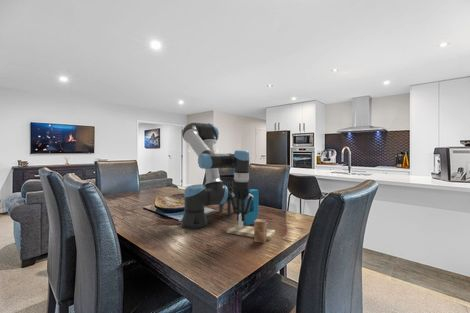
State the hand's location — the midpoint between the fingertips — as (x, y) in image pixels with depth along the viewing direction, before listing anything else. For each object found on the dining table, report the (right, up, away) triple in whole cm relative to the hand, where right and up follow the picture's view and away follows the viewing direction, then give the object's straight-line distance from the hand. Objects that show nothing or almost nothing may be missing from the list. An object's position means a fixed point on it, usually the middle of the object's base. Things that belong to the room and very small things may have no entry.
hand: (240, 227), depth 115 cm
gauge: (+11, -5, -2) cm, 12 cm away
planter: (-7, -4, +46) cm, 46 cm away
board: (+5, -5, +6) cm, 10 cm away
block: (+5, -5, +23) cm, 24 cm away
